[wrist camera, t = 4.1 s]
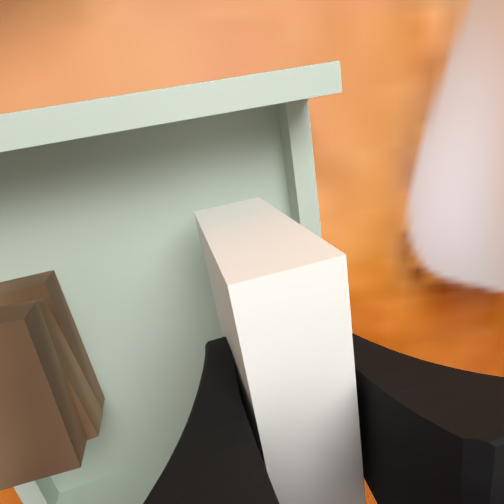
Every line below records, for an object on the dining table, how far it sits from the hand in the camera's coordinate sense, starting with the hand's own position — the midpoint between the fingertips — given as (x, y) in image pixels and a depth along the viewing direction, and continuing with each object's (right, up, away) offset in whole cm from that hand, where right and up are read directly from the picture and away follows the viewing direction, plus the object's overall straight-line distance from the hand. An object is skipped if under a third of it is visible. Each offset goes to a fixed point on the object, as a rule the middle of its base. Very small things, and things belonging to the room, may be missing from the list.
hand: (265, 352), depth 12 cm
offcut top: (-8, -1, 0) cm, 8 cm away
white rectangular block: (-1, +1, +2) cm, 2 cm away
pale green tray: (-4, +1, +4) cm, 6 cm away
